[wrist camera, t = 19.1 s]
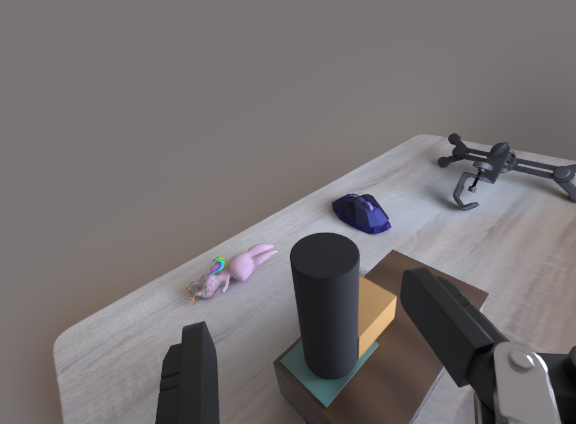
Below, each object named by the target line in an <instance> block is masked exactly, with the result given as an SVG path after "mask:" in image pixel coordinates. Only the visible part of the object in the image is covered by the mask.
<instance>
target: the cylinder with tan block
mask: <svg viewBox="0 0 576 424" xmlns="http://www.w3.org/2000/svg"><path fill="white" fill-rule="evenodd" d="M290 262H291V269H292V276H293V283H294V290H295V296H296V303H297V310H298V317H299V324H300V331H301V338H302V345H303V352H304V358H305V361H306V364H307V366H308V367H309V369H310V370H311V371H312V372H313V373H314V374H316V375H317V376H319V377H321V378H325V379H332V380H333V379H339V378H342V377H344V376H346V375H348V374H349V373H350V372H351V371H352V370H353V368H354V367H355V365H356V362H357V359H359V358H360V357H361V356H362V355H363V354H364V353H365V351H366V350H367V349H368V348H369V347H370V346H371V344H372V343H373V342H374V341H375V340H376V339H377V337H378V336H379V335H380V334H381V333H382V332H383V330H384V329H385V328H386V327H387V326H388V325H389V323H390V322H391V321H392V320H393V319H394V316H395V308H396V300H397V296H395V295H394V294H392V293H390V292H388V291H387V290H385V289H383V288H381V287H379V286H378V285H376V284H374V283H372V282H371V281H369V280H367V279H365V278H363V277H362V276H360V275H359V262H360V254H359V250H358V248H357V246H356V245H355V243H354V242H353V241H352V240H350V239H349V238H347V237H345V236H342V235H339V234H335V233H316V234H312V235H309V236H306V237H304V238H302V239H301V240H299V241H298V242H297V243H296V244H295V245H294V246H293V248H292V250H291V253H290Z"/></svg>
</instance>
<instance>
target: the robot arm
mask: <svg viewBox="0 0 576 424" xmlns="http://www.w3.org/2000/svg"><path fill="white" fill-rule="evenodd" d="M400 300H401V304H402V306H403V308H404V310H405V312H406V313H407V314H408V316H409V317H410V319H411V320H412V322H413V323H414V324H415V326H416V327H417V329H418V330H419V332H420V333H421V334H422V336H423V337H424V339H425V340H426V341H427V343H428V344H429V346H430V347H431V349H432V350H433V351H434V353H435V354H436V356H437V357H438V359H439V360H440V361H441V363H442V364H443V366H444V367H445V369H446V370H447V371H448V373H449V374H450V376H451V377H452V379H453V380H454V381H455V383H456V384H457V386H458V387H462V386H465V385H468V384H470V385H471V387H472V388H473V389H474V391H475V392H474V409H475V424H576V346H574V347H573V348H572V349H571V351H570V352H569V353H568V354H548V353H535V352H534V351H533V350H531V349H530V348H528V347H526V346H524V345H522V344H519V343H516V342H510V341H509V340H508V339H507V338H506V337H505V336H504V335H503V334H502V333H501V332H500V331H499V330H498V329H497V328H496V327H495V326H494V325H493V324H492V323H491V322H490V321H489V320H488V319H487V318H486V317H485V316H484V315H483V314H482V313H481V312H480V311H479V310H478V309H477V307H476V306H475V305H474V304H473V305H472V303H471V301H470V300H469V299H468V298H467V297H466V296H464V295H463V293H462V292H461V291H460V290H459V289H458V288H457V287H456V286H455V285H454V284H453V283H452V282H450V281H449V280H447V279H445V278H443V277H442V276H440V275H439V276H434V275H433V274H432V273H431V272H430V271H429V270H428V269H427V268H426V267H425V266H419V267H415V268H411V269H407V270H405V271H404V272H403V278H402V285H401V291H400ZM155 424H220V421H219V395H218V369H217V355H216V349H215V346H214V343H213V340H212V338H211V335H210V333H209V330H208V328H207V325H206V323H205V322H204V321H203V322H199V323H195V324H191V325H188V326H184V327H183V331H182V343H180V344H176V345H172V346H170V348H169V350H168V352H167V354H166V356H165V358H164V360H163V365H162V374H161V382H160V393H159V398H158V406H157V414H156V422H155Z"/></svg>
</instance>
